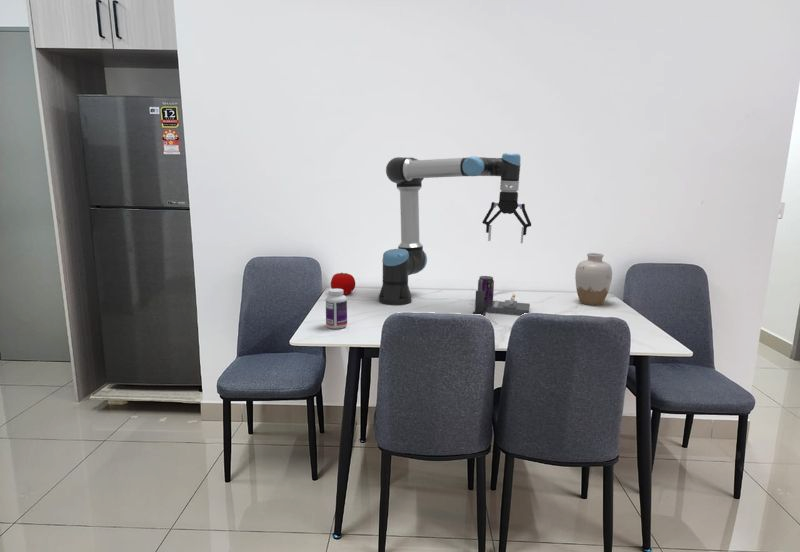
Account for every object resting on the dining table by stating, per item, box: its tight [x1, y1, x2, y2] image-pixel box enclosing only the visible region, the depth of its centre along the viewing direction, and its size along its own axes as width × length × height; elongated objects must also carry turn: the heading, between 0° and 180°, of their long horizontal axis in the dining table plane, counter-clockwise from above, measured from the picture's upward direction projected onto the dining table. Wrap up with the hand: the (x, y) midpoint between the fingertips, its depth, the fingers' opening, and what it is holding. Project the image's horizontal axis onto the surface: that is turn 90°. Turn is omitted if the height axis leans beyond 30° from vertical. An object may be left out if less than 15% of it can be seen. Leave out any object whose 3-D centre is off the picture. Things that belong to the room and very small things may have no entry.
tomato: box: [330, 272, 356, 296], centre depth 257 cm, size 12×12×10 cm
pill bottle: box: [325, 288, 348, 330], centre depth 203 cm, size 8×8×14 cm
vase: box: [574, 252, 613, 306], centre depth 245 cm, size 16×16×23 cm
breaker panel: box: [484, 299, 531, 316], centre depth 231 cm, size 22×12×4 cm, turn 74°
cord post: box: [472, 289, 486, 317], centre depth 223 cm, size 5×5×10 cm
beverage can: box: [477, 275, 495, 301], centre depth 243 cm, size 7×7×12 cm
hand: (505, 241), depth 227 cm, fingers open, 13 cm apart
